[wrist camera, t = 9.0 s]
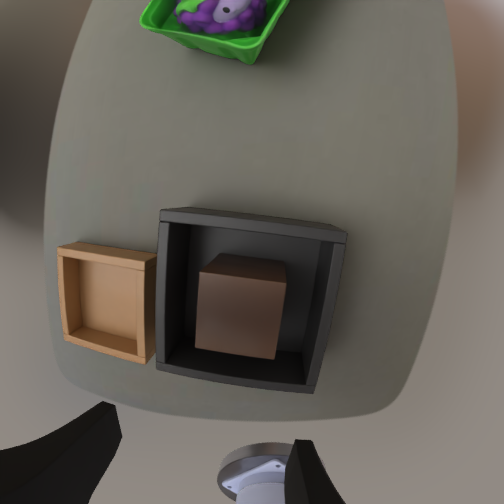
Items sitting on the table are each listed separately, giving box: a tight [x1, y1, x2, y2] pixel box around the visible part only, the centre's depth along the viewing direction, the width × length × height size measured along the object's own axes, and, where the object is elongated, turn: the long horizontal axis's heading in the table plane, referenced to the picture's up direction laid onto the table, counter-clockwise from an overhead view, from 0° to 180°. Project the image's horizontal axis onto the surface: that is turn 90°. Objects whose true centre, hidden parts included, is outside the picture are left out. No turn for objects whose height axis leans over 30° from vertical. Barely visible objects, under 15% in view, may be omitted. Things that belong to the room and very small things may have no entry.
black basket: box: [155, 207, 347, 394], centre depth 17 cm, size 9×9×4 cm
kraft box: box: [57, 242, 157, 365], centre depth 19 cm, size 7×7×2 cm
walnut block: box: [195, 253, 287, 359], centre depth 16 cm, size 4×4×5 cm
